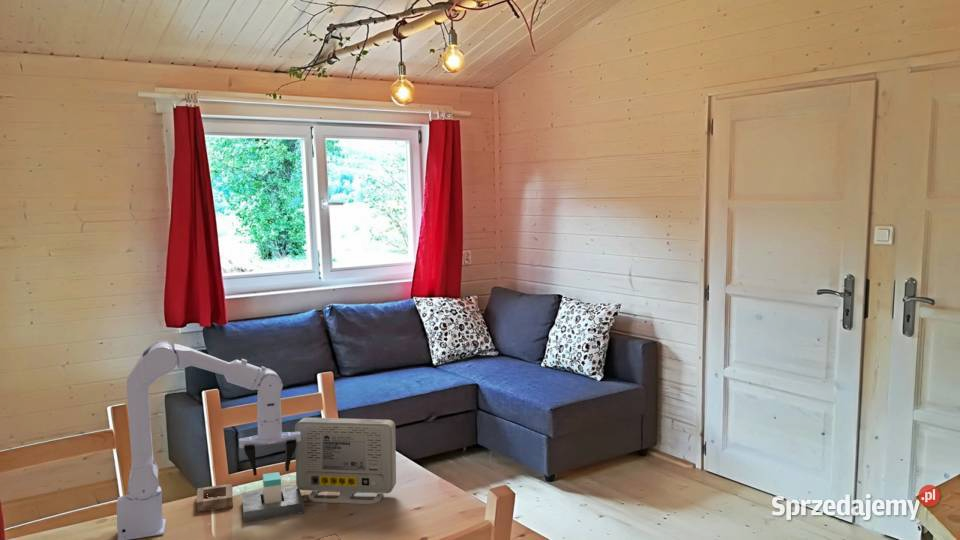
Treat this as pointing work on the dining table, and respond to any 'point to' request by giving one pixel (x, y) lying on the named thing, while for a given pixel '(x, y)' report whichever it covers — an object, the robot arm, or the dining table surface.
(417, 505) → the dining table surface
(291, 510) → the port
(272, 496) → the plug
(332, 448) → the network device
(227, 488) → the frame
